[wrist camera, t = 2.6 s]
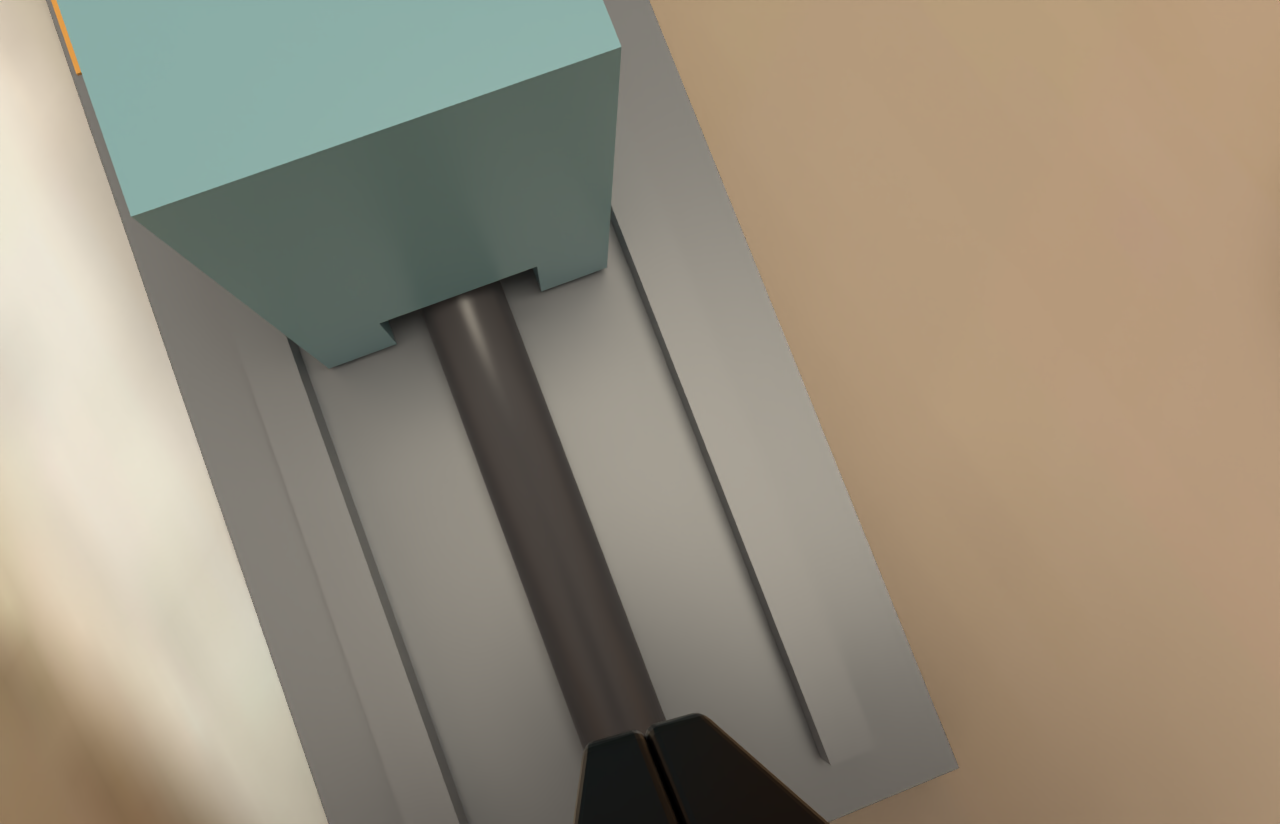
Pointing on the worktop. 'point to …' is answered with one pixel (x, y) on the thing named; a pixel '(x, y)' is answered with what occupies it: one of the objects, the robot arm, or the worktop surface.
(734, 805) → the robot arm
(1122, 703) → the worktop surface
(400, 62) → the notched teal block
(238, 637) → the worktop surface
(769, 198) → the worktop surface
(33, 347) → the worktop surface
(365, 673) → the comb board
